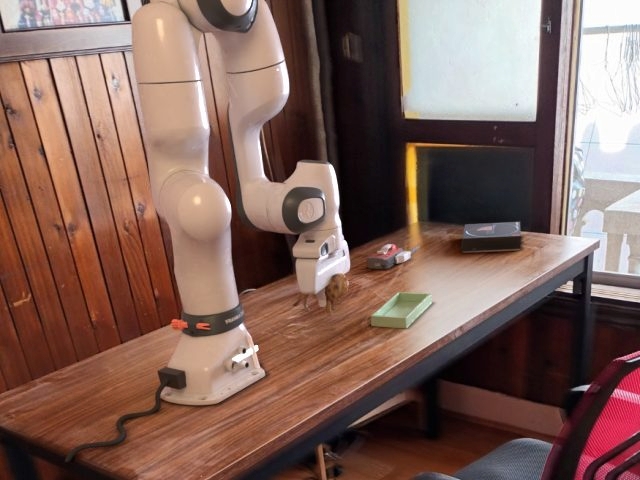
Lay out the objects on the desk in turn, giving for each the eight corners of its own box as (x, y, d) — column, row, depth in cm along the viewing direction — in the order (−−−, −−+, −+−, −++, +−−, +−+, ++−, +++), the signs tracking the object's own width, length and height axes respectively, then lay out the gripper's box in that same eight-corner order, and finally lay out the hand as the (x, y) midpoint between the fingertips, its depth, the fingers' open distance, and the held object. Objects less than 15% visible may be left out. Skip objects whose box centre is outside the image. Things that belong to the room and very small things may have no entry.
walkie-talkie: (392, 271, 207) (422, 251, 221) (390, 255, 204) (421, 236, 219) (364, 269, 211) (395, 250, 225) (362, 253, 208) (394, 235, 222)
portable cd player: (463, 238, 231) (463, 224, 229) (519, 235, 228) (520, 221, 226) (460, 252, 217) (460, 238, 215) (520, 250, 215) (520, 235, 212)
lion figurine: (354, 310, 174) (351, 270, 169) (344, 317, 169) (341, 277, 165) (298, 304, 179) (294, 266, 174) (287, 311, 174) (283, 272, 170)
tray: (406, 328, 170) (405, 318, 168) (371, 326, 173) (370, 315, 171) (431, 303, 182) (431, 293, 181) (398, 301, 186) (398, 291, 184)
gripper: (329, 228, 173) (334, 288, 181) (288, 251, 157) (296, 315, 165) (354, 229, 171) (358, 289, 178) (315, 252, 155) (322, 317, 163)
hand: (328, 302), depth 172 cm, fingers closed on lion figurine, 4 cm apart
